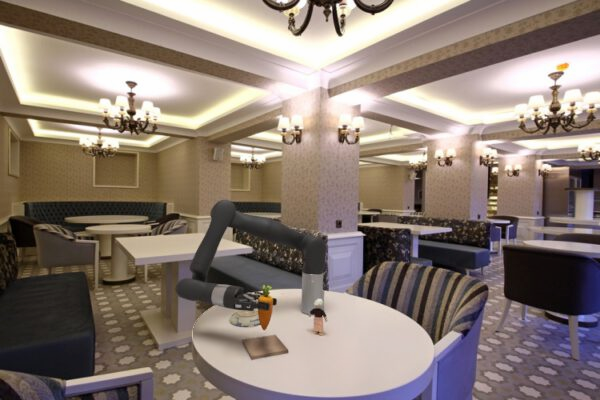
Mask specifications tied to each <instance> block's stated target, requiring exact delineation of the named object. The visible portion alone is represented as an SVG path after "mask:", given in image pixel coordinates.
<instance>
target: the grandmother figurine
mask: <svg viewBox="0 0 600 400" xmlns="http://www.w3.org/2000/svg"><path fill="white" fill-rule="evenodd" d="M322 304H323V300H322V299H317V300H316V301H315V302H314V305H315V306H316V308H314V309H312V310H311V311H310V313H309V314H308V317H309V318H311V317H312V316H313V315H312V314H315V315H314V317H313V334H314V335H317V334H318V335H319V336H325V335H326V332H325V331H324V322H328V321H329V320H328V317H327V313H326V312H325V309H324V310H322V309H320V308H322Z"/></svg>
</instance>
